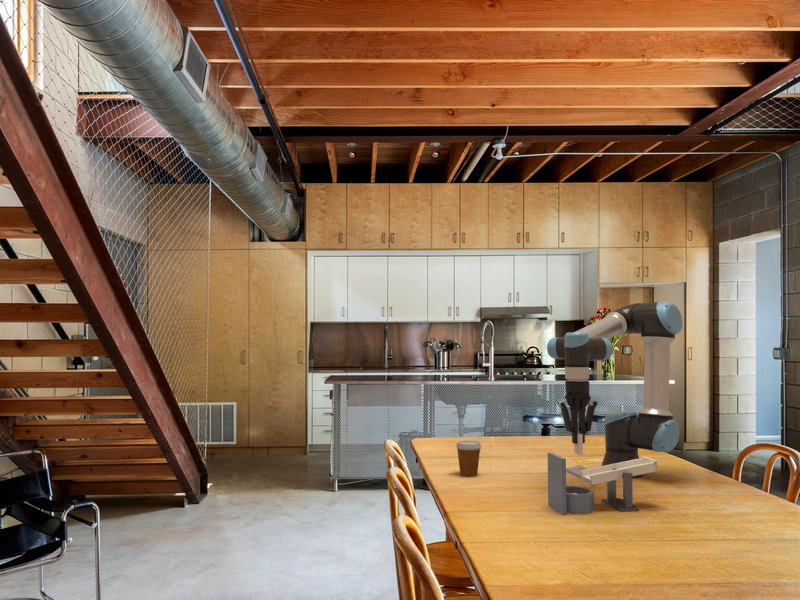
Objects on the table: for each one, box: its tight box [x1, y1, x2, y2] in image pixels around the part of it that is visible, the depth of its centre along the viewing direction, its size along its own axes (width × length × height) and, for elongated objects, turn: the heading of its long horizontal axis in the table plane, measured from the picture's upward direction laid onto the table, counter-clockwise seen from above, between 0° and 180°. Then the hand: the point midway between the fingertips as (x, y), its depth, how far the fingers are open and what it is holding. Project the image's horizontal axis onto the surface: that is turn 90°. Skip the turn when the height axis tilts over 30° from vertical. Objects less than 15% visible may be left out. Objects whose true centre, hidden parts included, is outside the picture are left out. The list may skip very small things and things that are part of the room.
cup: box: [547, 452, 595, 515], centre depth 188 cm, size 12×11×16 cm
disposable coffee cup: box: [455, 440, 482, 478], centre depth 232 cm, size 10×10×12 cm
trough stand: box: [601, 473, 640, 513], centre depth 191 cm, size 6×11×11 cm, turn 11°
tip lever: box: [566, 455, 659, 486], centre depth 196 cm, size 22×18×4 cm
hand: (578, 453), depth 199 cm, fingers closed
